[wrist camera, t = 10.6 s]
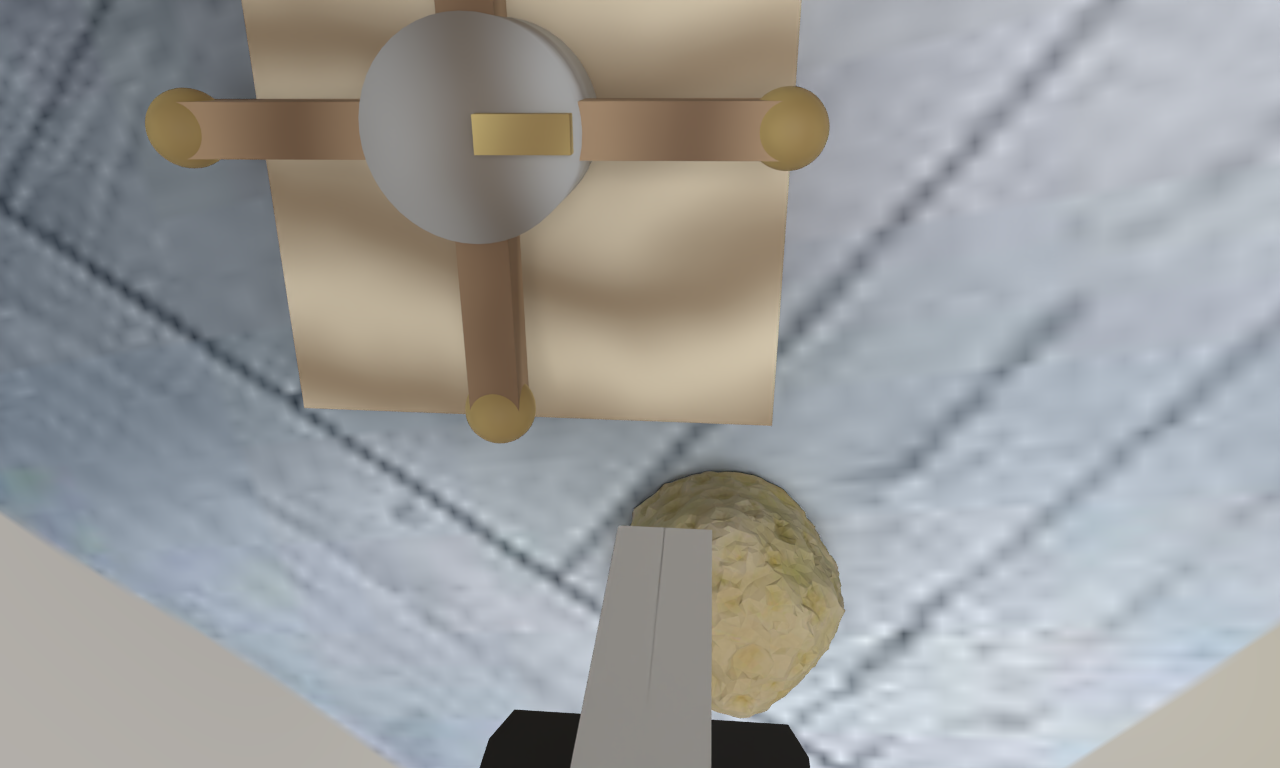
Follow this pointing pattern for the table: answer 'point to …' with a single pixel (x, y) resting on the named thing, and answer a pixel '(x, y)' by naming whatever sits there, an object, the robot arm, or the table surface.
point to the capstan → (486, 156)
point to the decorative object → (755, 584)
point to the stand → (546, 227)
